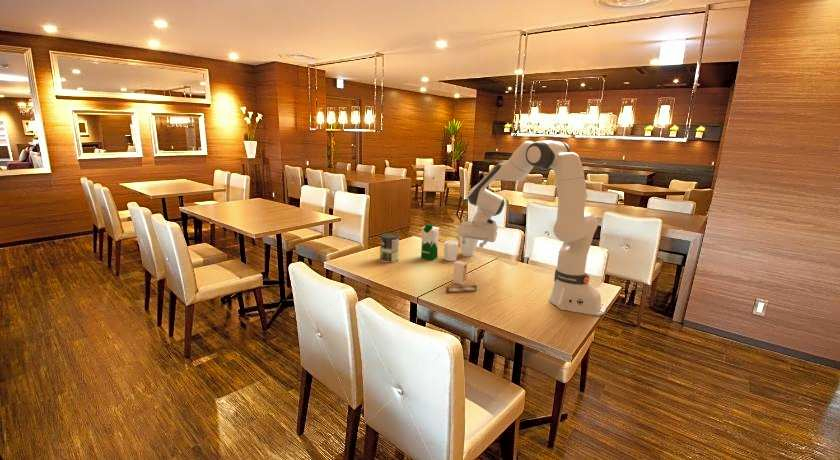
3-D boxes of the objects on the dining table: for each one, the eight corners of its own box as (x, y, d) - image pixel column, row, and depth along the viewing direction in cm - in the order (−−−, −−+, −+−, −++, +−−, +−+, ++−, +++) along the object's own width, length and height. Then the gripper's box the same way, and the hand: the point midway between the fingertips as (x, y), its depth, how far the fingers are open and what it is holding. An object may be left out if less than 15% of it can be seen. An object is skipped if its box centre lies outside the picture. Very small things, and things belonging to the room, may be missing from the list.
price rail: (475, 289, 176) (475, 284, 176) (476, 291, 175) (476, 286, 174) (446, 291, 173) (446, 286, 172) (447, 292, 171) (447, 287, 171)
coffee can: (382, 263, 208) (382, 238, 205) (378, 257, 218) (378, 233, 214) (400, 262, 211) (401, 237, 208) (396, 256, 221) (396, 232, 218)
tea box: (452, 282, 184) (454, 262, 182) (456, 280, 187) (457, 260, 185) (462, 284, 181) (463, 264, 179) (466, 282, 185) (467, 262, 182)
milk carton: (418, 258, 219) (419, 224, 215) (426, 254, 227) (428, 221, 222) (431, 261, 215) (433, 226, 210) (439, 257, 222) (441, 223, 218)
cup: (465, 258, 222) (466, 235, 219) (453, 252, 232) (454, 230, 229) (482, 256, 228) (483, 233, 225) (470, 250, 238) (471, 229, 235)
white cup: (456, 262, 215) (457, 244, 213) (442, 260, 216) (443, 243, 214) (458, 258, 222) (459, 241, 220) (444, 256, 224) (445, 240, 222)
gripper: (460, 216, 200) (451, 238, 194) (498, 222, 189) (489, 245, 184) (463, 223, 204) (454, 245, 198) (500, 229, 194) (492, 252, 188)
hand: (471, 245), depth 191 cm, fingers open, 8 cm apart
